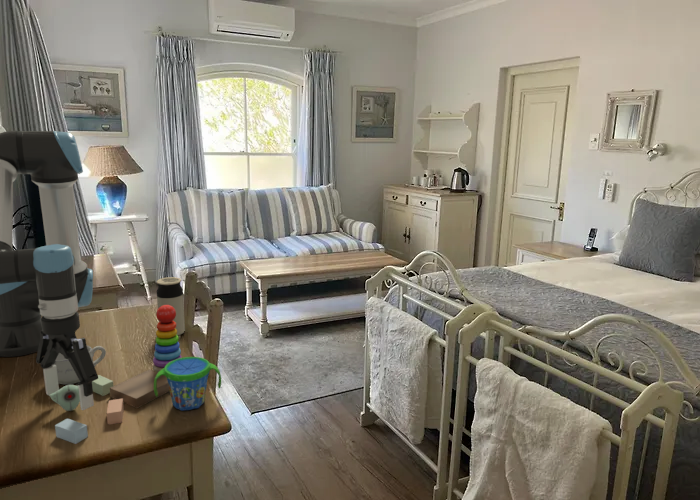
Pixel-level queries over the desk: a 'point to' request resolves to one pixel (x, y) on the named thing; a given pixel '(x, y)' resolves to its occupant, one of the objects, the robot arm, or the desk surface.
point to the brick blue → (71, 431)
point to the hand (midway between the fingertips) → (69, 399)
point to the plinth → (140, 388)
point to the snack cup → (187, 381)
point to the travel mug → (172, 299)
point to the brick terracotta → (115, 411)
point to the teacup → (66, 370)
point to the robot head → (67, 397)
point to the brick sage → (102, 385)
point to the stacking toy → (166, 338)
